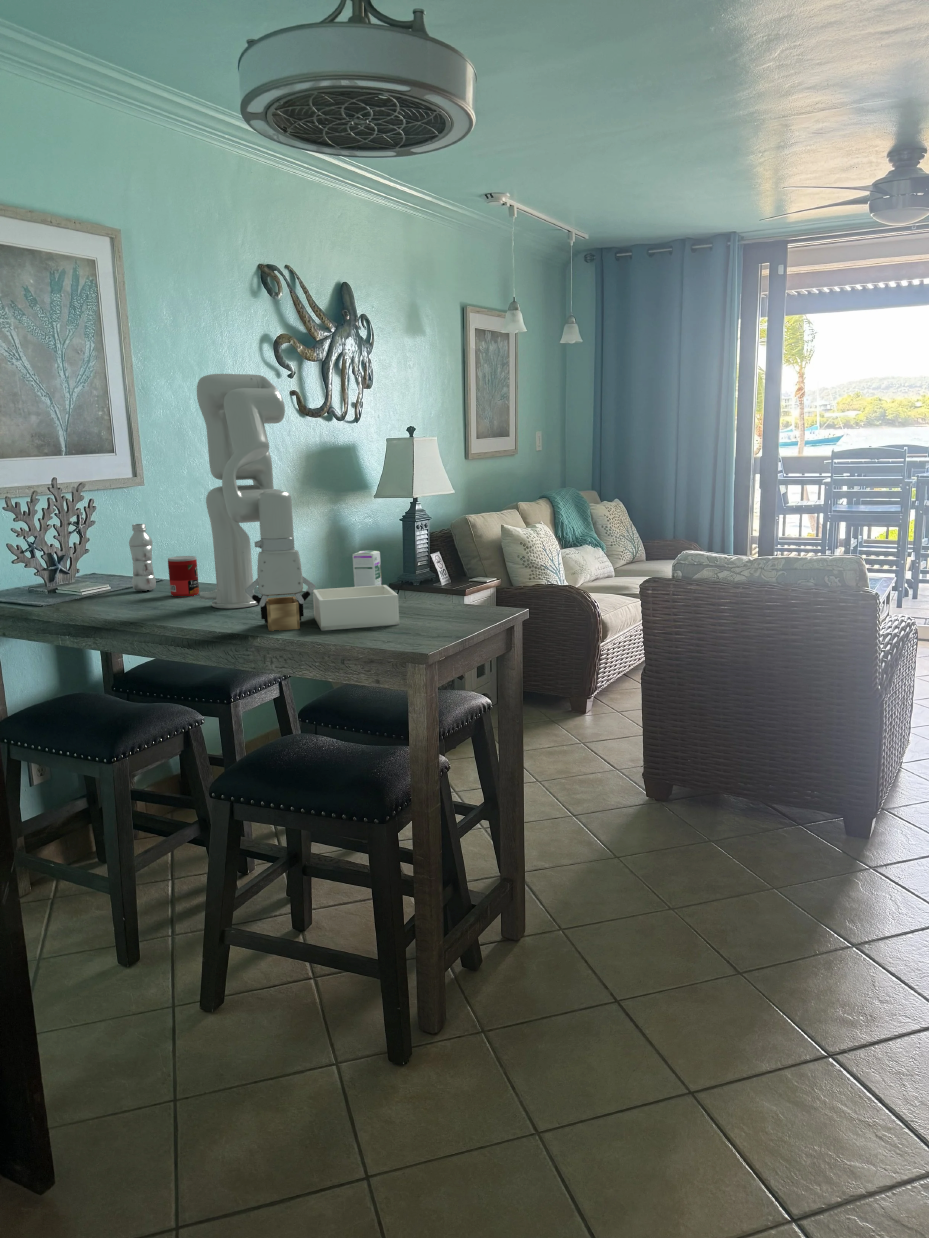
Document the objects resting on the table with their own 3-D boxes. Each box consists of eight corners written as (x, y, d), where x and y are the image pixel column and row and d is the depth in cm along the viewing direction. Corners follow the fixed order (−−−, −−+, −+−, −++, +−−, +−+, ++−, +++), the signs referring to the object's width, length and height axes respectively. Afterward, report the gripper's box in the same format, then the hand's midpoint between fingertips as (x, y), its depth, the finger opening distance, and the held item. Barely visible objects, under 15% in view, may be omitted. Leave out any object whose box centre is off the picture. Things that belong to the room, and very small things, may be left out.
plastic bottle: (132, 590, 266) (125, 524, 263) (156, 588, 269) (149, 522, 265) (133, 593, 261) (126, 525, 257) (157, 591, 263) (151, 524, 259)
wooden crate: (269, 631, 202) (267, 605, 201) (266, 623, 211) (265, 598, 210) (300, 628, 204) (298, 603, 203) (296, 620, 213) (294, 596, 212)
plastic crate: (321, 630, 201) (319, 600, 200) (314, 617, 216) (312, 589, 215) (399, 624, 206) (398, 594, 204) (387, 612, 221) (385, 584, 219)
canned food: (194, 597, 252) (191, 558, 250) (167, 597, 252) (163, 559, 250) (203, 592, 259) (199, 555, 257) (176, 593, 259) (172, 556, 257)
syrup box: (377, 609, 225) (374, 553, 222) (354, 609, 226) (352, 553, 224) (383, 605, 231) (381, 550, 228) (361, 605, 232) (359, 550, 229)
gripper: (239, 549, 198) (245, 626, 202) (317, 545, 203) (321, 621, 206) (238, 545, 205) (244, 620, 209) (314, 541, 210) (318, 615, 213)
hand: (282, 620), depth 207 cm, fingers closed on wooden crate, 7 cm apart
